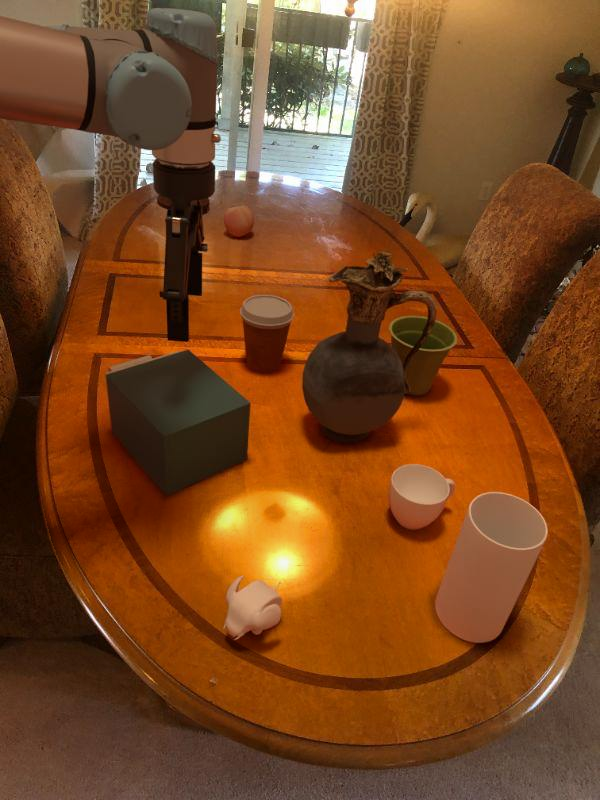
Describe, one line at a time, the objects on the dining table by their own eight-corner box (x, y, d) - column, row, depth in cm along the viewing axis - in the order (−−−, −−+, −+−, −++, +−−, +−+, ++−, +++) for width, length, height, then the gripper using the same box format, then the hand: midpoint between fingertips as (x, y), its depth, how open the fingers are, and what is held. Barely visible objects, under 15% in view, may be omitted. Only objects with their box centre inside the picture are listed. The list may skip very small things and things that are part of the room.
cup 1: (372, 506, 87) (380, 470, 83) (431, 490, 91) (441, 455, 87) (401, 546, 81) (411, 510, 77) (462, 527, 85) (475, 492, 81)
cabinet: (111, 432, 94) (105, 374, 88) (188, 404, 102) (188, 349, 96) (166, 496, 84) (163, 436, 78) (247, 460, 92) (250, 402, 86)
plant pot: (368, 389, 110) (378, 335, 104) (391, 361, 119) (402, 309, 113) (430, 412, 106) (446, 357, 100) (450, 381, 115) (465, 328, 109)
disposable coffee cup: (296, 374, 112) (303, 315, 105) (247, 381, 109) (250, 321, 102) (278, 347, 119) (283, 291, 112) (231, 353, 116) (233, 296, 109)
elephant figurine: (207, 626, 69) (207, 592, 65) (257, 584, 74) (260, 552, 71) (249, 666, 66) (252, 633, 62) (299, 620, 71) (304, 587, 67)
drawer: (95, 403, 98) (89, 356, 93) (164, 380, 105) (162, 335, 100) (159, 478, 86) (157, 428, 81) (233, 446, 93) (235, 399, 88)
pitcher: (290, 412, 103) (309, 240, 85) (396, 405, 107) (435, 240, 90) (306, 455, 94) (331, 273, 77) (421, 445, 99) (469, 271, 81)
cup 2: (423, 616, 73) (456, 522, 63) (451, 572, 78) (485, 480, 69) (489, 656, 69) (534, 563, 60) (513, 607, 75) (557, 515, 66)
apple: (247, 229, 168) (249, 200, 164) (257, 240, 163) (259, 210, 158) (219, 231, 165) (220, 201, 161) (228, 242, 160) (229, 211, 155)
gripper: (202, 195, 65) (201, 365, 77) (225, 138, 85) (221, 280, 97) (130, 188, 64) (140, 360, 77) (170, 133, 85) (173, 276, 97)
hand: (185, 315), depth 87 cm, fingers open, 13 cm apart
